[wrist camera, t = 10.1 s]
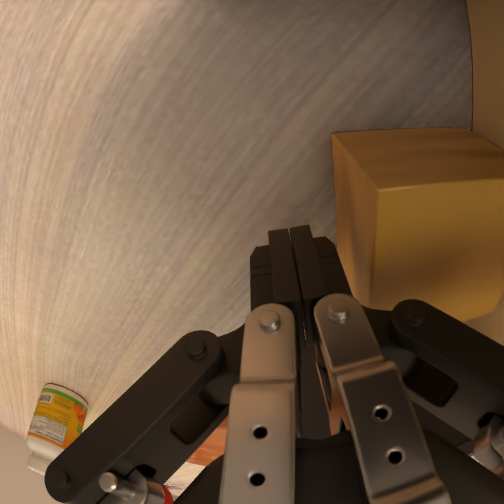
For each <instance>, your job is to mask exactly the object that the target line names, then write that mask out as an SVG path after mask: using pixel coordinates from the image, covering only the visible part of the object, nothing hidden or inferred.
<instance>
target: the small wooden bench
mask: <svg viewBox="0 0 504 504" xmlns="http://www.w3.org/2000/svg"><path fill="white" fill-rule="evenodd" d="M466 3H467V10H468V17H469V25H470V34H471V44H472V59H473V125H472V132H473V133H475V134H477V135H478V136H480V137H482V138H483V139H485V140H487V141H488V142H490V143H492V144H493V145H495V146H496V147H498V148H500V149H501V150H503V151H504V0H466ZM462 323H464V324H466V325H468V326H470V327H471V328H473V329H475V330H477V331H478V332H480V333H482V334H484V335H485V336H487V337H489V338H490V339H492V340H494V341H496V342H497V343H499V344H501V345H503V346H504V291H503V294H502V296H501V298H500V300H499V302H498V304H497V306H496V308H495V311H494V312H493V313H490V314H487V315H484V316H481V317H478V318H475V319H471V320H468V321H465V322H462ZM305 345H306V347H305V348H300V349H301V359H302V364H301V368H300V369H301V401H302V431H303V438H307V439H325V438H328V437H330V436H331V430H330V423H329V416H328V411H327V407H326V403H325V399H324V395H323V391H322V387H321V383H320V379H319V375H318V371H317V366H316V354H315V348H314V346H311V347H307V341H305ZM411 402H412V404H413V407H414V409H415V412H416V415H417V417H418V420H419V423H420V426H423V427H426V428H428V429H430V430H432V431H434V432H436V433H437V434H439V435H440V436H442V437H443V438H444V439H446V440H447V441H449V442H450V443H451V444H453V445H454V446H456V447H457V448H459V449H460V450H461V451H463V452H464V453H466V454H467V455H469V456H470V457H471V456H473V441H474V440H472V439H471V438H469V437H467V436H466V435H464V434H463V433H461V432H460V431H458V430H457V429H455V428H453V427H452V426H450V425H449V424H447V423H446V422H444V421H443V420H441V419H440V418H438V417H436V416H435V415H433V414H432V413H430V412H429V411H427V410H426V409H424V408H423V407H421V406H420V405H418V404H417V403H415V402H414V401H412V400H411ZM479 463H480V462H479ZM480 464H481V463H480ZM481 465H483V464H481Z"/></svg>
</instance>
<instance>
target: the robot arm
mask: <svg viewBox="0 0 504 504" xmlns="http://www.w3.org/2000/svg"><path fill="white" fill-rule="evenodd" d="M289 230H290V236H289V231H288V228H285V229H279V230H272V231H268V235H269V245H266V246H259V247H256V248H255V249H254V251H253V253H252V254H251V256H250V276H251V278H250V288H251V311H250V313H249V315H248V316H247V318H246V321H245V323H244V324H243V325H242V326H241V327H240V328H238V329H237V330H235V331H233V332H230V333H228V334H225V335H223V336H220V337H217V336H216V335H215V334H213V333H211V332H209V331H204V330H199V331H193V332H190V333H188V334H186V335H185V336H183V337H182V338H181V339H179V340H178V341H177V342H176V343H175V344H174V345H173V346H172V347H171V348H170V349H169V350H168V351H167V352H166V353H165V354H164V355H163V356H162V357H161V358H160V359H159V360H158V361H157V362H156V363H155V364H154V365H153V366H152V367H151V368H150V369H149V370H148V371H146V372H145V373H144V374H143V375H142V376H141V377H140V378H139V379H138V380H137V381H136V382H135V383H134V384H133V385H132V386H131V387H130V388H129V389H128V390H127V391H126V392H125V393H124V394H123V395H122V396H121V397H119V398H118V399H117V400H116V401H115V402H114V403H113V404H112V405H111V406H110V407H109V408H108V409H107V410H106V411H105V412H104V413H103V414H102V415H101V416H100V417H99V418H97V419H96V420H95V421H94V422H93V423H92V424H91V425H90V426H89V427H88V428H87V429H86V430H85V431H84V432H83V433H82V434H81V435H80V436H78V437H77V438H76V439H75V440H74V441H73V442H72V443H71V444H70V445H69V446H68V447H67V448H66V449H65V450H64V451H63V452H61V453H60V454H59V455H58V456H57V457H56V458H55V459H54V460H53V461H52V462H51V463H50V464H49V465H48V467H47V469H46V472H45V486H46V488H47V491H48V493H49V494H50V496H51V497H52V498H54V499H55V500H56V501H59V502H61V503H64V504H164V501H165V493H164V490H163V488H162V485H163V484H164V483H165V482H166V481H167V480H168V479H169V478H170V477H171V476H172V475H173V474H174V473H175V472H176V471H177V470H178V469H179V468H180V467H181V466H182V465H183V464H184V463H185V462H186V461H187V460H188V459H189V457H190V456H191V455H192V454H193V453H194V452H195V451H196V450H197V449H198V448H199V447H200V446H201V445H202V444H203V443H204V441H205V440H206V439H207V438H208V437H209V436H210V435H211V434H212V433H213V432H214V431H215V429H216V428H217V427H218V426H219V425H220V424H221V423H222V422H223V420H224V419H225V418H226V417H227V416H228V424H227V433H226V441H225V450H224V454H223V455H221V456H219V457H218V458H216V459H215V460H213V461H212V462H211V463H210V464H209V465H207V466H206V467H205V468H204V469H203V470H202V472H201V473H200V474H199V475H198V476H197V477H196V478H195V479H194V481H193V482H192V483H191V484H190V485H189V486H188V487H187V488H186V489H185V490H184V492H183V493H182V494H181V495H180V496H179V497H178V498H177V499H176V500H175V501H174V502H173V503H172V504H504V346H503V345H501V344H499V343H497V342H496V341H494V340H492V339H490V338H489V337H487V336H485V335H484V334H482V333H480V332H478V331H477V330H475V329H473V328H471V327H470V326H468V325H466V324H464V323H462V322H461V321H459V320H457V319H455V318H454V317H452V316H450V315H448V314H446V313H445V312H443V311H441V310H439V309H437V308H435V307H434V306H432V305H430V304H428V303H426V302H424V301H422V300H418V299H407V300H403V301H401V302H399V303H398V304H397V305H396V306H395V307H394V308H393V310H392V311H388V310H376V309H371V308H368V307H365V306H363V305H361V304H360V302H359V301H358V300H357V299H356V298H354V297H353V295H352V292H351V289H350V286H349V283H348V280H347V278H346V275H345V272H344V269H343V266H342V264H341V261H340V258H339V256H338V253H337V250H336V247H335V245H334V243H333V242H331V241H330V240H329V239H328V238H327V237H326V236H324V237H318V238H313V236H312V233H311V229H310V226H309V225H305V226H298V227H291V228H289ZM290 238H291V242H290ZM291 246H292V247H291ZM303 322H304V324H303ZM304 328H305V334H306V341H307V347H311V346H314V348H315V354H316V366H317V371H318V375H319V379H320V383H321V387H322V391H323V395H324V399H325V403H326V407H327V411H328V416H329V423H330V430H331V436H330V437H328V438H325V439H307V438H303V431H302V401H301V369H300V368H301V364H302V359H301V349H300V348H305V347H306V345H305V334H304ZM411 400H412V401H414V402H415V403H417V404H418V405H420V406H421V407H423V408H424V409H426V410H427V411H429V412H430V413H432V414H433V415H435V416H436V417H438V418H440V419H441V420H443V421H444V422H446V423H447V424H449V425H450V426H452V427H453V428H455V429H457V430H458V431H460V432H461V433H463V434H464V435H466V436H467V437H469V438H471V439H472V440H474V441H473V455H474V457H475V459H477V460H478V461H479V462H480V463H481V464H483V465H481V464H480V463H479V462H477V461H476V460H474V459H473V458H471V457H470V456H469V455H467V454H466V453H464V452H463V451H461V450H460V449H459V448H457V447H456V446H454V445H453V444H451V443H450V442H449V441H447V440H446V439H444V438H443V437H442V436H440V435H439V434H437V433H436V432H434V431H432V430H430V429H428V428H426V427H423V426H420V423H419V420H418V417H417V415H416V412H415V409H414V407H413V404H412V402H411Z"/></svg>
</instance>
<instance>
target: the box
mask: <svg viewBox="0 0 504 504" xmlns="http://www.w3.org/2000/svg"><path fill="white" fill-rule="evenodd" d="M331 138H332V150H333V164H334V180H335V199H336V226H337V253H338V256H339V258H340V261H341V264H342V266H343V269H344V272H345V275H346V278H347V280H348V283H349V286H350V289H351V292H352V295H353V297H354V298H356V299H357V300H358V301H359V302H360V304H361V305H363V306H365V307H368V308H371V309H376V310H388V311H392V310H393V308H394V307H395V306H396V305H397V304H398V303H399V302H401V301H403V300H407V299H418V300H422V301H424V302H426V303H428V304H430V305H432V306H434V307H435V308H437V309H439V310H441V311H443V312H445V313H446V314H448V315H450V316H452V317H454V318H455V319H457V320H459V321H461V322H465V321H468V320H471V319H475V318H478V317H481V316H484V315H487V314H490V313H493V312H494V311H495V308H496V306H497V304H498V302H499V300H500V298H501V296H502V294H503V291H504V151H503V150H501V149H500V148H498V147H496V146H495V145H493V144H492V143H490V142H488V141H487V140H485V139H483V138H482V137H480V136H478V135H477V134H475V133H473V132H471V131H470V130H468V129H466V128H407V129H384V130H368V131H354V132H343V133H333V134H332V135H331Z"/></svg>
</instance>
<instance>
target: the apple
mask: <svg viewBox="0 0 504 504" xmlns="http://www.w3.org/2000/svg"><path fill="white" fill-rule="evenodd" d="M162 488H163V490H164V493H165V501H164V504H172V503H173V502H174V501H173V499H172V496H171V493H170V492H169V490H168V489H167V488H166V487H165V486H162Z"/></svg>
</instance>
